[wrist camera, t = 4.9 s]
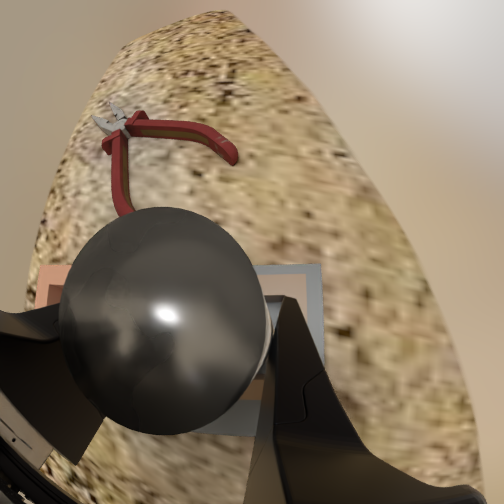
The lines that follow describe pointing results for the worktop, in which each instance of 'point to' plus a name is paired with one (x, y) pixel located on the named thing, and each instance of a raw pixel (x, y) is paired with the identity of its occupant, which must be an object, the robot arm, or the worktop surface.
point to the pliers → (152, 129)
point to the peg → (163, 321)
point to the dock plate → (274, 290)
